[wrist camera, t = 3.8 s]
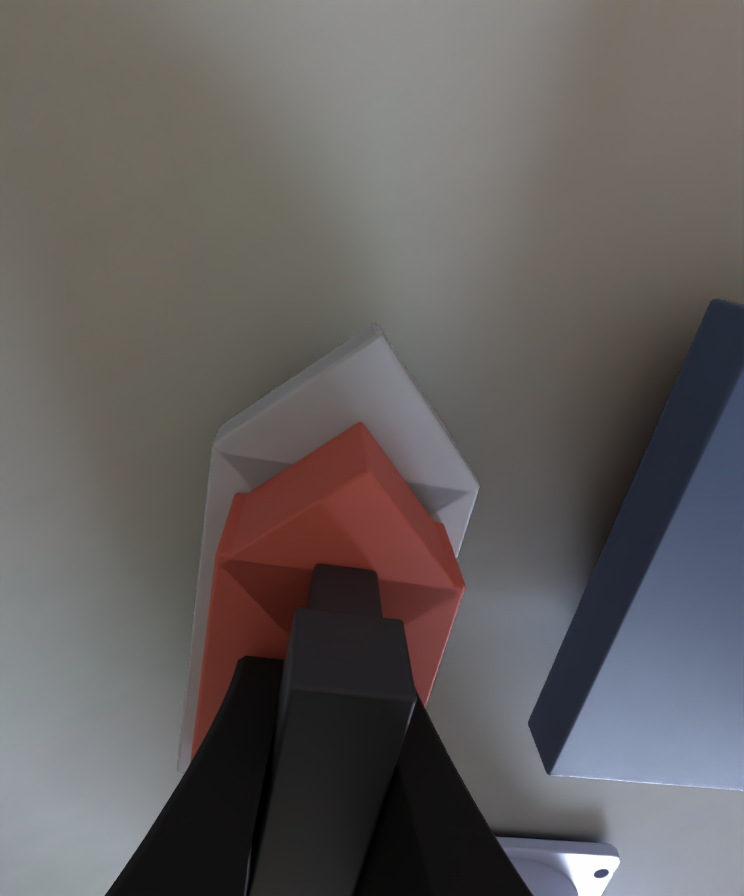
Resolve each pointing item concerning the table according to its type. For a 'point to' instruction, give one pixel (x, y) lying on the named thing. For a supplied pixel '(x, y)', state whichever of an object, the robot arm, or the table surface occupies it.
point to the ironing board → (665, 599)
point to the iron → (328, 597)
